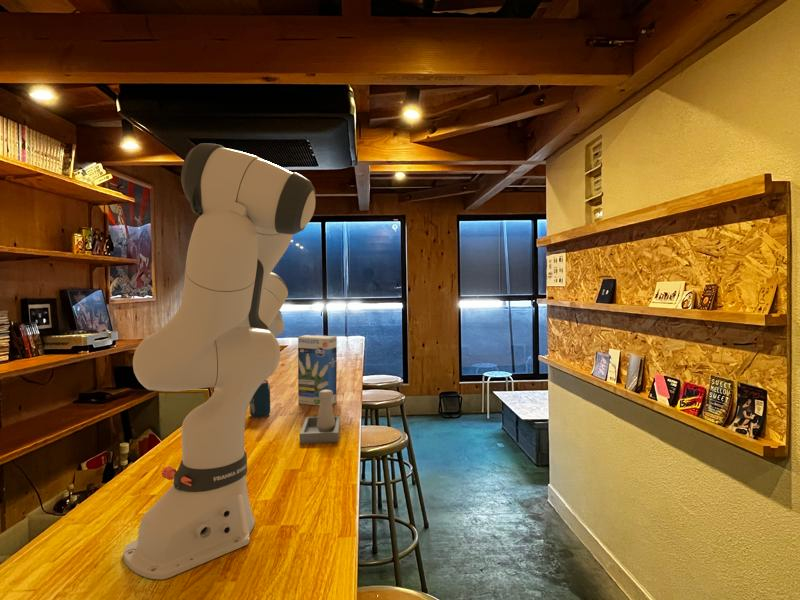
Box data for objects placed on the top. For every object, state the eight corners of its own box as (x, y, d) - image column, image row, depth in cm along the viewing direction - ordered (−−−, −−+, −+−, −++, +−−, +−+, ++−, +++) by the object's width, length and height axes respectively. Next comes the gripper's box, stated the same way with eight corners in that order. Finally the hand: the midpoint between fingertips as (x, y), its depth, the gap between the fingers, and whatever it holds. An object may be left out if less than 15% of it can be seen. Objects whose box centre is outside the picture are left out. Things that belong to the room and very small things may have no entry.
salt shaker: (332, 435, 139) (331, 393, 138) (314, 434, 140) (313, 392, 139) (338, 429, 145) (337, 388, 144) (320, 428, 146) (320, 387, 145)
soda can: (273, 412, 164) (272, 379, 164) (265, 418, 157) (265, 384, 157) (254, 412, 165) (254, 379, 164) (246, 418, 158) (245, 383, 157)
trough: (337, 442, 135) (337, 432, 135) (299, 443, 134) (299, 433, 134) (340, 424, 151) (340, 415, 151) (306, 425, 150) (306, 416, 150)
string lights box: (297, 404, 175) (296, 336, 174) (307, 398, 183) (306, 334, 181) (328, 407, 171) (328, 338, 170) (338, 401, 178) (337, 335, 177)
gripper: (281, 299, 122) (288, 332, 132) (202, 300, 121) (216, 333, 131) (278, 317, 118) (286, 349, 128) (196, 319, 117) (211, 351, 127)
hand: (250, 341), depth 130 cm, fingers open, 8 cm apart
